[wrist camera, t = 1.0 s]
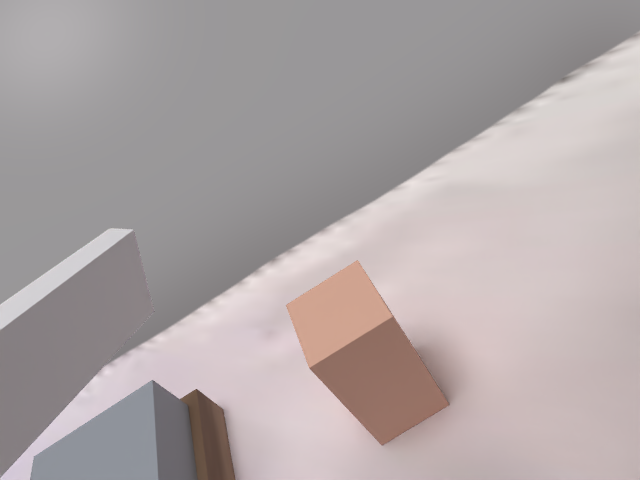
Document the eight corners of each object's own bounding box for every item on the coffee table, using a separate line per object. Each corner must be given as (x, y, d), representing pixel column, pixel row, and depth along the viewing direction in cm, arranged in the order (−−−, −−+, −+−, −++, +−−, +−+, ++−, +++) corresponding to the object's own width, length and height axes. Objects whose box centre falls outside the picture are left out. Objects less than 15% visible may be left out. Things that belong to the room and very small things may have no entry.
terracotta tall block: (414, 348, 35) (357, 260, 29) (449, 404, 31) (392, 316, 25) (354, 384, 35) (285, 305, 29) (381, 445, 31) (309, 368, 25)
